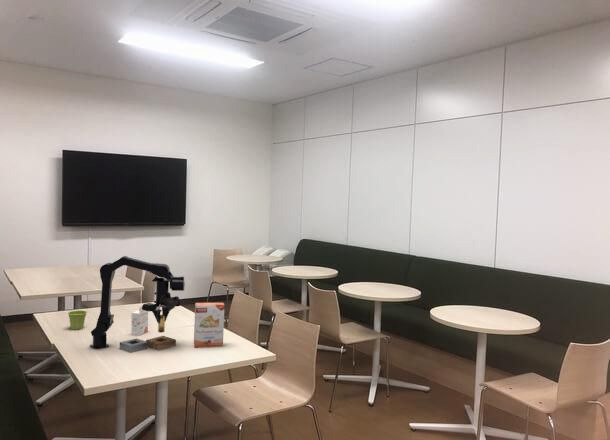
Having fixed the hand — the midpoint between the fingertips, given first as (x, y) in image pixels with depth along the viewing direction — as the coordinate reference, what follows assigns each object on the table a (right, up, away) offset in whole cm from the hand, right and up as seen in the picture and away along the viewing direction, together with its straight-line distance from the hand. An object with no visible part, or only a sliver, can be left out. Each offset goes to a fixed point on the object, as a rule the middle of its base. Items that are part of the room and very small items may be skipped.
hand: (161, 322), depth 228 cm
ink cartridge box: (-18, -10, +21) cm, 29 cm away
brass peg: (0, -5, 0) cm, 4 cm away
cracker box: (+22, -12, +4) cm, 26 cm away
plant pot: (-53, -9, +25) cm, 59 cm away
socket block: (-12, -11, -5) cm, 17 cm away
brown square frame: (0, -12, 0) cm, 12 cm away
